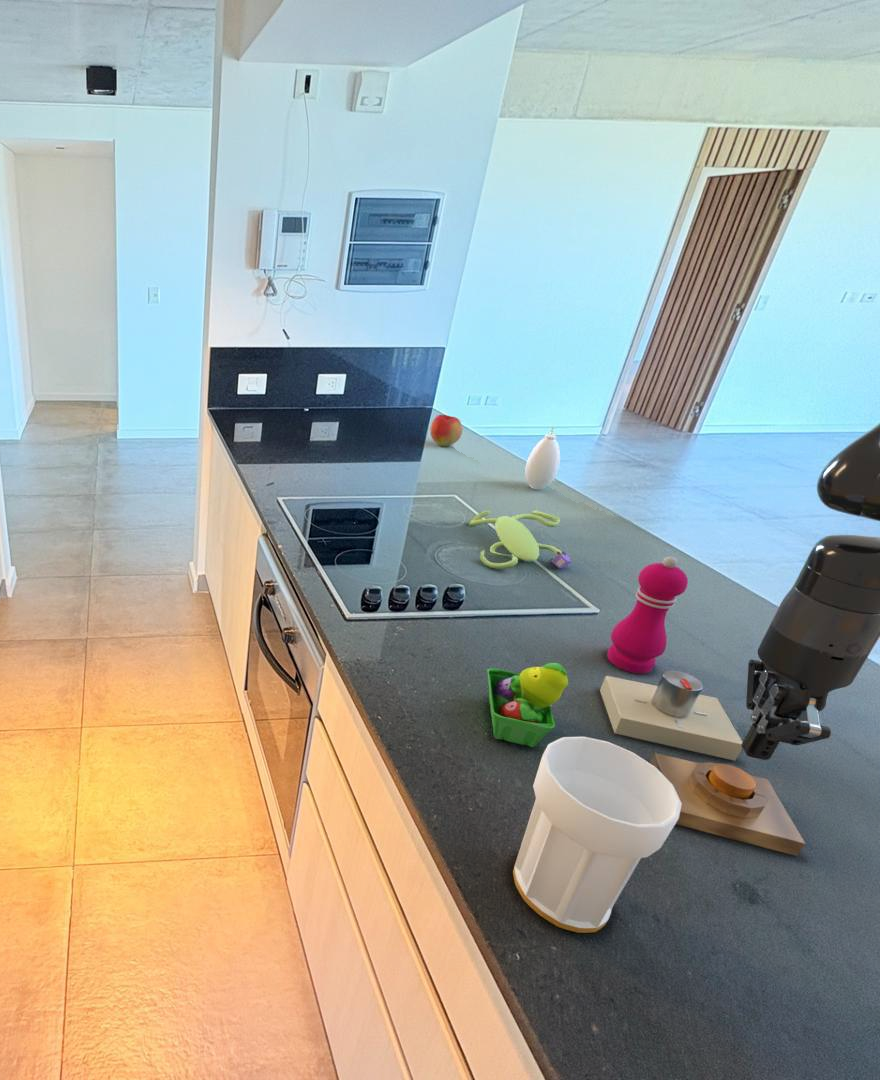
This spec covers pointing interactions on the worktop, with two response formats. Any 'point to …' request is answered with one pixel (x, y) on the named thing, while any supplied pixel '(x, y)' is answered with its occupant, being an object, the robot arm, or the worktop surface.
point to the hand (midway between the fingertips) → (754, 754)
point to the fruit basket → (525, 702)
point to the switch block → (729, 807)
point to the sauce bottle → (543, 462)
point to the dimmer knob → (676, 693)
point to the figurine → (519, 539)
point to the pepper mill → (647, 618)
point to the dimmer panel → (669, 720)
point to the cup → (590, 830)
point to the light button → (732, 781)
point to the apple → (446, 430)
